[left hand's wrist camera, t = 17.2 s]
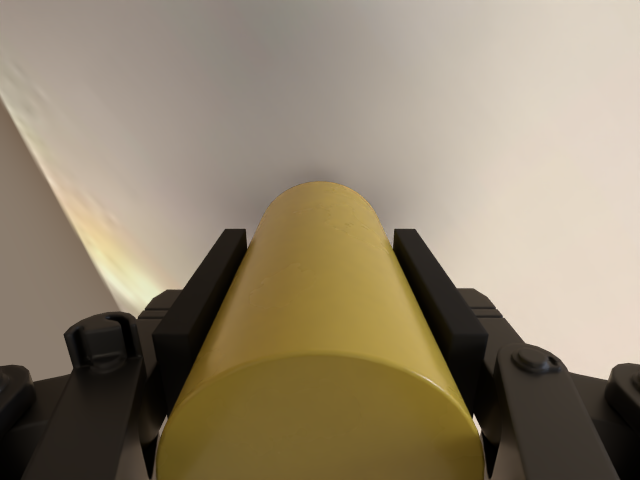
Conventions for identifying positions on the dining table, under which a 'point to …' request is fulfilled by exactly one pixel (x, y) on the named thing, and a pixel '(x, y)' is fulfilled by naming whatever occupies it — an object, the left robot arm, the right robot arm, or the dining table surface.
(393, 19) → the dining table surface
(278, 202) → the canister
